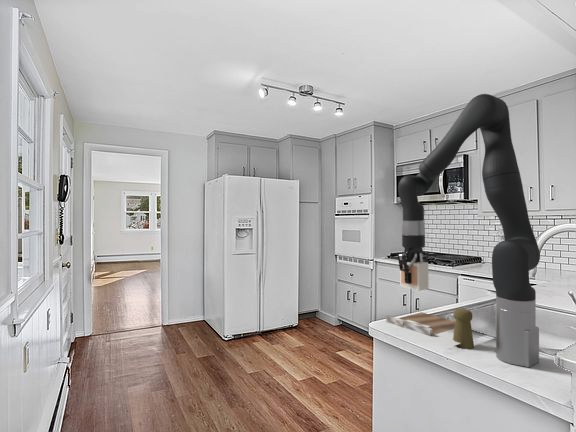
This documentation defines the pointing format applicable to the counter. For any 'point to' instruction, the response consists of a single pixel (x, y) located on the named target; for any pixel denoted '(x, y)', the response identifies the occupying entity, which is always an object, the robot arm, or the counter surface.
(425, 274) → the carton
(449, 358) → the counter surface
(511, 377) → the counter surface
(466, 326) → the olive knobbed cone
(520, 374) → the counter surface
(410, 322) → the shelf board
